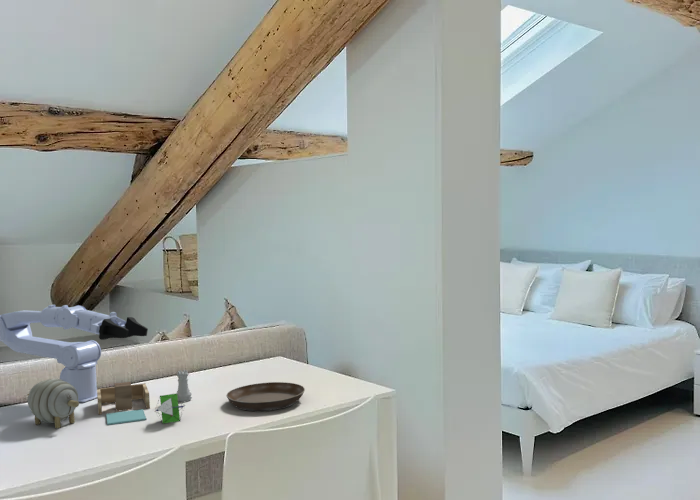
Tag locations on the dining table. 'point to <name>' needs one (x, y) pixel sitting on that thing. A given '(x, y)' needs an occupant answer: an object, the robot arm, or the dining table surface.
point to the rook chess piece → (183, 387)
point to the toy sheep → (53, 401)
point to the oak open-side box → (109, 395)
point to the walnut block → (123, 396)
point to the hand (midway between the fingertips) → (137, 333)
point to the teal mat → (125, 417)
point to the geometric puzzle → (169, 408)
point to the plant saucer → (265, 396)
